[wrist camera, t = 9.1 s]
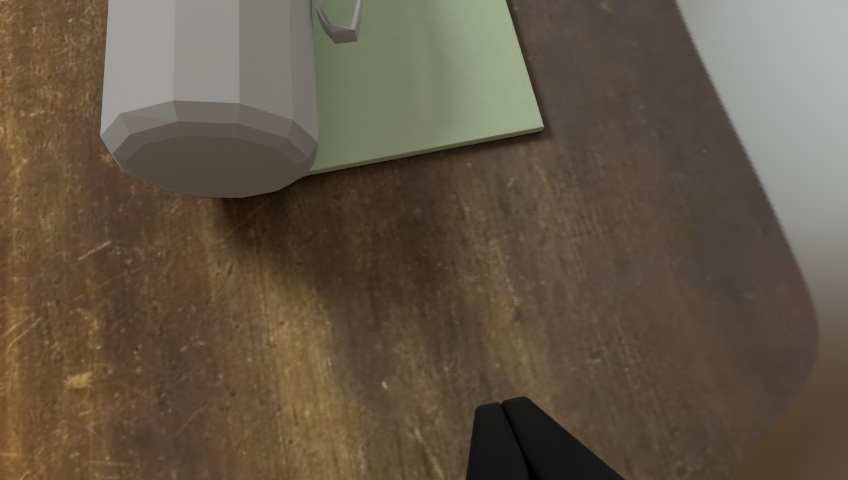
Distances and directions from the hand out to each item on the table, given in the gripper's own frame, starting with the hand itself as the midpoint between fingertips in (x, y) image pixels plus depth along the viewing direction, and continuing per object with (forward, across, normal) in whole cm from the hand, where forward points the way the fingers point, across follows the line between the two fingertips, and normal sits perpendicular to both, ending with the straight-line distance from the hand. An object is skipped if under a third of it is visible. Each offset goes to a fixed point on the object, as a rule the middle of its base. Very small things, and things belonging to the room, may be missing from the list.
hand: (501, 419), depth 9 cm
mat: (+23, 0, -6) cm, 24 cm away
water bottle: (+13, +6, -1) cm, 14 cm away
